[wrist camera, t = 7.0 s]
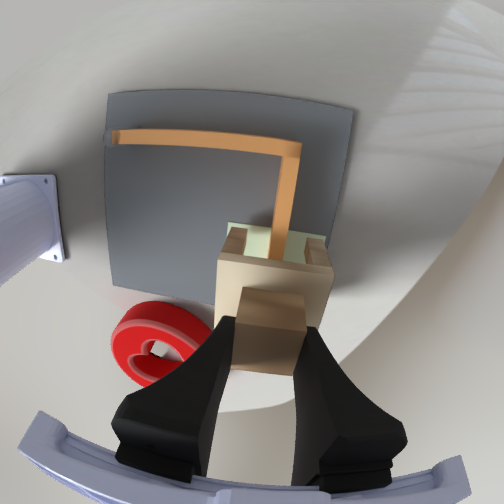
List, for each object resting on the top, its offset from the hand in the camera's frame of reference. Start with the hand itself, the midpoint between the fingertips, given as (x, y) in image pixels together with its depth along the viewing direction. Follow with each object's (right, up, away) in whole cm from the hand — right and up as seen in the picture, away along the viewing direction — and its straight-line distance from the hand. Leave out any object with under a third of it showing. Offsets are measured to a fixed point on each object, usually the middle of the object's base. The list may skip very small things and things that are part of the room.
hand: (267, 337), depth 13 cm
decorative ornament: (-8, -4, +12) cm, 15 cm away
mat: (-3, +7, +6) cm, 10 cm away
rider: (0, +3, +5) cm, 6 cm away
